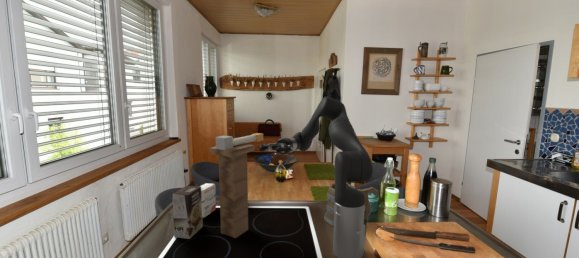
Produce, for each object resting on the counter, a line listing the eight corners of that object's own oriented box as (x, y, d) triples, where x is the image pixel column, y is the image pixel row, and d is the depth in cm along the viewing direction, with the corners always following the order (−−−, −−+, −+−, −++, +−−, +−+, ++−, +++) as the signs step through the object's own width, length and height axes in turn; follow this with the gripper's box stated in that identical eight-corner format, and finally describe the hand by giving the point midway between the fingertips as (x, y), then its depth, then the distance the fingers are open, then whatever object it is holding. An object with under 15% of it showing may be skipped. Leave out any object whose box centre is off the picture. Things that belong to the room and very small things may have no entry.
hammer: (256, 139, 108) (256, 129, 108) (264, 140, 106) (264, 130, 106) (216, 148, 90) (215, 137, 89) (224, 150, 88) (224, 138, 87)
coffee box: (190, 239, 93) (188, 195, 90) (173, 237, 94) (171, 193, 92) (203, 226, 101) (201, 186, 99) (188, 224, 103) (186, 184, 101)
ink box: (207, 207, 118) (206, 182, 116) (216, 209, 116) (215, 183, 115) (194, 216, 110) (192, 188, 108) (204, 218, 108) (202, 190, 107)
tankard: (322, 225, 103) (323, 188, 101) (327, 211, 115) (328, 178, 113) (376, 233, 98) (378, 194, 96) (376, 218, 110) (378, 183, 107)
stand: (255, 227, 101) (254, 145, 96) (233, 243, 91) (231, 151, 86) (235, 221, 106) (233, 142, 101) (212, 234, 96) (209, 147, 91)
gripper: (274, 136, 132) (254, 140, 117) (299, 138, 125) (282, 142, 111) (274, 151, 132) (254, 157, 118) (299, 154, 125) (282, 160, 111)
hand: (268, 150), depth 114 cm, fingers open, 8 cm apart
